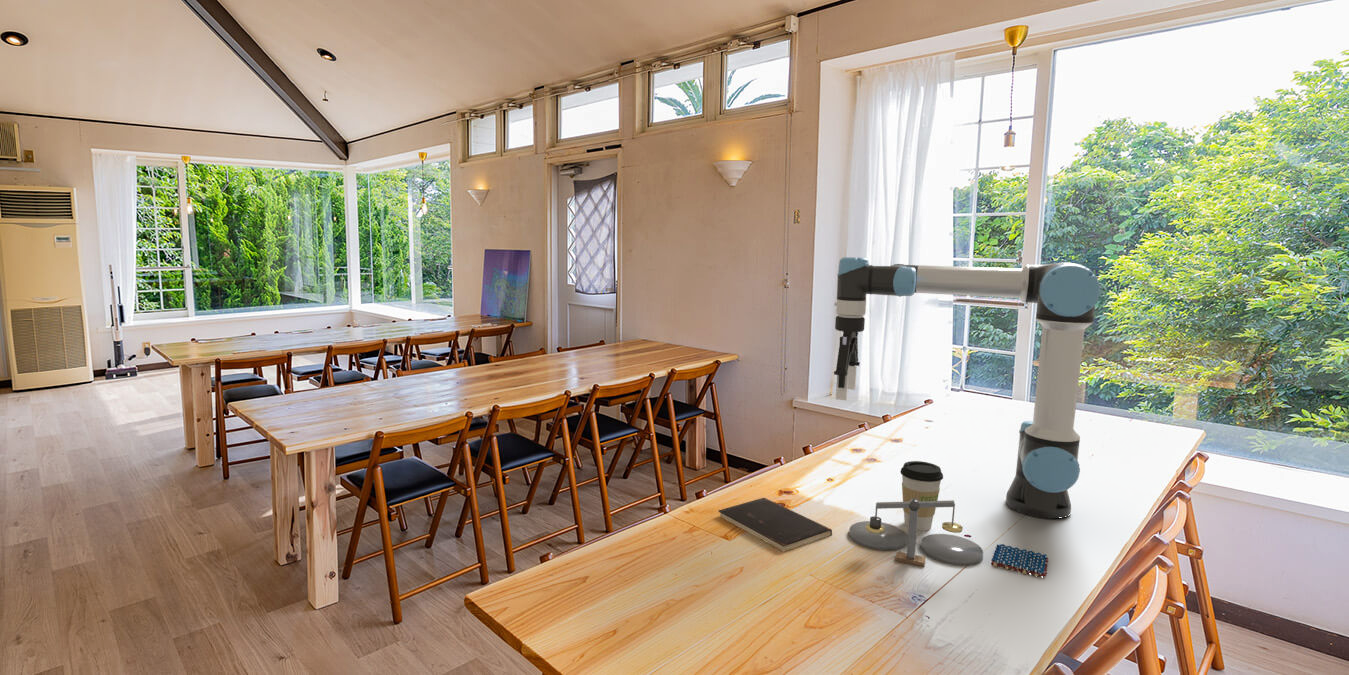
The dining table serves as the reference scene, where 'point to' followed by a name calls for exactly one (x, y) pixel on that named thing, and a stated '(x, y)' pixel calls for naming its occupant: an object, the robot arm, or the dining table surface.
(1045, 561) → the woven mat
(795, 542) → the hardcover book
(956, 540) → the grey flat disc
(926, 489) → the coffee cup
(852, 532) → the dish low side
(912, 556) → the balance
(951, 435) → the dining table surface
